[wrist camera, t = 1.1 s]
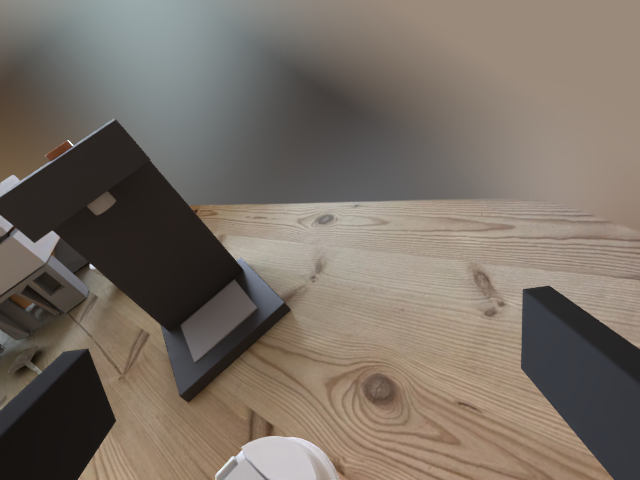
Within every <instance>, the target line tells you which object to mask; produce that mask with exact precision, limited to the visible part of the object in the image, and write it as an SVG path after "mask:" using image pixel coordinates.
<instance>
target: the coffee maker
mask: <svg viewBox="0 0 640 480" xmlns="http://www.w3.org/2000/svg"><path fill="white" fill-rule="evenodd" d="M45 157H46V158H47V159H48V160H49V161H50V162H48V163H47V164H45V165H44V166H42V167H41V168H39V169H38V170H36V171H35V172H33V173H32V174H31V175H29V176H27V177H26V178H24V179H23V180H21V181H20V182H18V183H17V184H15V185H14V186H13V187H11V188H10V189H9V190H7V191H6V192H5V193H4V194H2V195H1V196H0V215H1V216H2V217H3V218H4V219H6V220H7V221H8V222H9V223H10V224H12V225H13V226H14V227H15V228H17V229H18V230H19V231H20V232H21V233H23V234H24V235H25V236H26V237H27V238H29V239H30V240H31V241H32V242H34V243H36V242H37V241H38V240H40V239H41V238H42V237H44V236H45V235H47V234H48V233H49V232H51V231H53V232H55V233H56V234H57V235H58V236H59V237H60V238H61V239H63V240H64V241H65V242H66V243H67V244H68V245H70V246H71V247H72V248H73V249H74V250H75V251H76V252H78V253H79V254H80V255H81V256H82V257H83V258H84V259H86V260H87V261H88V262H89V263H90V264H91V265H93V266H94V267H95V268H96V269H97V270H98V271H99V272H101V273H102V274H103V275H104V276H105V277H106V278H108V279H109V280H110V281H111V282H112V283H113V284H114V285H116V286H117V287H118V288H119V289H120V290H121V291H122V292H124V293H125V294H126V295H127V296H128V297H129V298H131V299H132V300H133V301H134V302H135V303H136V304H137V305H139V306H140V307H141V308H142V309H143V310H144V311H146V312H147V313H148V314H149V315H150V316H151V317H152V318H154V319H155V320H156V321H157V322H158V323H159V324H160V325H161V329H162V332H163V336H164V340H165V343H166V347H167V351H168V354H169V358H170V362H171V365H172V369H173V373H174V376H175V380H176V384H177V387H178V391H179V395H180V397H182V398H183V399H184V400H186V401H187V402H189V401H190V400H191V399H192V398H193V397H195V396H196V395H197V394H198V393H199V392H200V391H201V390H202V389H203V388H205V387H206V386H207V385H208V384H209V383H210V382H211V381H212V380H213V379H214V378H216V377H217V376H218V375H219V374H220V373H221V372H222V371H223V370H224V369H226V368H227V367H228V366H229V365H230V364H231V363H232V362H233V361H234V360H235V359H237V358H238V357H239V356H240V355H241V354H242V353H243V352H244V351H245V350H247V349H248V348H249V347H250V346H251V345H252V344H253V343H254V342H255V341H256V340H258V339H259V338H260V337H261V336H262V335H263V334H264V333H265V332H266V331H268V330H269V329H270V328H271V327H272V326H273V325H274V324H275V323H276V322H277V321H279V320H280V319H281V318H282V317H283V316H284V315H285V314H286V313H287V312H289V311H290V308H289V307H288V306H287V305H286V303H285V302H284V301H283V300H282V299H281V298H280V297H279V296H278V295H277V294H276V293H275V292H274V291H273V290H272V289H271V288H270V287H269V286H268V285H267V284H266V283H265V282H264V281H263V280H262V279H261V278H260V277H259V276H258V275H257V274H256V273H255V272H254V270H253V269H252V268H251V267H250V266H249V265H248V264H247V263H246V262H245V261H244V260H243V259H242V258H239V259H238V260H237V261H236V260H235V259H234V258H233V257H232V256H231V254H230V253H229V252H228V251H227V250H226V249H225V247H224V246H223V245H222V244H221V243H220V242H219V240H218V239H217V238H216V237H215V236H214V235H213V233H212V232H211V231H210V230H209V229H208V228H207V226H206V225H205V224H204V223H203V222H202V221H201V219H200V218H199V217H198V216H197V215H196V214H195V213H194V211H193V210H192V209H191V208H190V207H189V206H188V204H187V203H186V202H185V201H184V200H183V199H182V198H181V196H180V195H179V194H178V193H177V192H176V190H175V189H174V188H173V187H172V186H171V185H170V184H169V182H168V181H167V180H166V179H165V178H164V176H163V175H162V174H161V173H160V172H159V171H158V169H157V168H156V167H155V166H154V165H153V164H152V162H151V161H150V159H149V157H148V156H147V155H146V154H145V153H144V151H142V149H141V148H140V147H139V146H138V144H136V142H135V141H134V140H133V139H132V137H131V136H130V135H129V134H128V133H127V132H126V130H125V129H124V128H123V127H122V126H121V125H120V123H119V122H118V121H117V120H115V119H112V120H111V121H109V122H108V123H106V124H105V125H103V126H102V127H100V128H99V129H97V130H96V131H94V132H93V133H91V134H90V135H88V136H87V137H85V138H84V139H82V140H81V141H79V142H78V143H76V144H75V145H74V146H73V145H72V144H71V143H70V142H69V141H66V142H65V143H63V144H62V145H60V146H58V147H57V148H55V149H54V150H53V151H51V152H49V153H48V154H47V155H45Z"/></svg>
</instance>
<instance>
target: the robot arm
mask: <svg viewBox="0 0 640 480" xmlns="http://www.w3.org/2000/svg"><path fill="white" fill-rule="evenodd" d="M521 369H522V370H523V371H524V372H525V373H526V375H527V376H528V377H529V378H530V379H531V381H532V382H533V383H534V384H535V385H536V387H537V388H538V389H539V390H540V391H541V393H542V394H543V395H544V396H545V397H546V399H547V400H548V401H549V402H550V403H551V405H552V406H553V407H554V408H555V409H556V410H557V412H558V413H559V414H560V415H561V416H562V418H563V419H564V420H565V421H566V422H567V424H568V425H569V426H570V427H571V428H572V430H573V431H574V432H575V433H576V434H577V436H578V437H579V438H580V439H581V440H582V442H583V443H584V444H585V445H586V446H587V448H588V449H589V450H590V451H591V452H592V454H593V455H594V456H595V457H596V458H597V460H598V461H599V462H600V463H601V464H602V466H603V467H604V468H605V469H606V470H607V472H608V473H609V474H610V475H611V476H612V478H613V479H614V480H640V349H638V348H637V347H636V346H634V345H633V344H631V343H630V342H628V341H627V340H626V339H624V338H623V337H621V336H620V335H619V334H617V333H616V332H614V331H613V330H611V329H610V328H609V327H607V326H606V325H604V324H603V323H601V322H600V321H599V320H597V319H596V318H594V317H593V316H592V315H590V314H589V313H587V312H586V311H584V310H583V309H582V308H580V307H579V306H577V305H576V304H574V303H573V302H572V301H570V300H569V299H567V298H566V297H565V296H563V295H562V294H560V293H559V292H557V291H556V290H555V289H553V288H552V287H550V286H544V287H536V288H529V289H523V309H522V353H521ZM115 422H116V419H115V417H114V414H113V412H112V409H111V407H110V404H109V401H108V399H107V396H106V394H105V391H104V388H103V386H102V383H101V381H100V378H99V375H98V373H97V370H96V368H95V365H94V362H93V360H92V357H91V355H90V352H89V349H82V350H74V351H67V352H63V353H62V354H61V355H60V356H59V357H58V358H57V359H56V360H54V361H53V362H52V363H51V364H50V365H49V366H48V367H47V368H46V369H45V370H44V371H43V372H42V373H40V374H39V375H38V376H37V377H36V378H35V379H34V380H33V381H32V382H31V383H30V384H29V385H27V386H26V387H25V388H24V389H23V390H22V391H21V392H20V393H19V394H18V395H17V396H16V397H15V398H13V399H12V400H11V401H10V402H9V403H8V404H7V405H6V406H5V407H4V408H3V409H2V410H0V480H78V478H79V477H80V475H81V474H82V472H83V471H84V469H85V467H86V466H87V464H88V463H89V461H90V460H91V458H92V457H93V455H94V454H95V452H96V451H97V449H98V448H99V446H100V445H101V443H102V442H103V440H104V439H105V437H106V436H107V434H108V432H109V431H110V429H111V428H112V426H113V425H114V423H115Z"/></svg>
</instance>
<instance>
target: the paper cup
mask: <svg viewBox="0 0 640 480" xmlns="http://www.w3.org/2000/svg"><path fill="white" fill-rule="evenodd" d="M241 448H242V450H243V451H241V452H240V453H239V454H238V455H237V456H236V457H234V456H232V457H231V459H230V460H229V461H228V462H227V463H226V464H225V465H224V466H223V467H222V468H221V469H220V470H219V472H218V473H217V474H216V475H215V477H216V479H215V480H340V478H339V476H338V474H337V471H336V469H335V467H334V465H333V464H332V462H331V461H330V459H329V458H328V456H327V455H326V454H325V453H324V452H323V451H322V450H321V449H320V448H319V447H317V446H316V445H314V444H313V443H311V442H309V441H306V440H304V439H301V438H295V437H280V436H268V437H264V438H259V439H256V440H254V441H251V442H249V443H247V444H246V445H244V446H242V447H241Z"/></svg>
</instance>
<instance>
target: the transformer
mask: <svg viewBox="0 0 640 480" xmlns="http://www.w3.org/2000/svg"><path fill="white" fill-rule="evenodd" d="M18 182H20V180H19V179H18V178H17V177H15V176H14V175H12V176H10V177H9V178H7V179H6V180H4V181H3V182H1V183H0V196H1V195H2V194H4V193H5V192H6V191H7V190H9V189H10V188H11V187H13V186H14V185H15V184H17V183H18ZM87 263H88V261H87V260H86V259H84V258H83V257H82V256H81V255H80V254H79V253H78V252H76V251H75V250H74V249H73V248H72V247H71V246H70V245H68V244H67V243H66V242H65V241H64V240H63V239H61V238H60V237H59V236H58V235H57V234H56V233H55V232H53V231H51V232H49V233H48V234H47V235H45V236H44V237H42V238H41V239H40V240H38V241H37V242H36V243H34V242H32V241H31V240H30V239H29V238H27V237H26V236H25V235H24V234H23V233H21V232H20V231H19V230H18V229H17V228H15V227H14V226H13V225H12V224H10V223H9V222H8V221H7V220H6V219H4V218H3V217H2V216H1V215H0V330H2V331H3V332H5V333H7V334H8V335H10V336H11V337H13V338H14V339H16V340H20V339H22V338H23V337H28V336H29V335H30V333H31V332H32V331H33V330H34V329H36V328H37V327H38V326H39V325H40V320H39V319H37V318H36V317H35V316H33V315H32V314H30V313H29V312H28V311H26V310H25V308H27V307H28V306H30V305H31V304H32V303H34V304H36V305H38V306H40V307H42V308H44V309H46V310H47V311H49V312H50V313H51V314H55V315H58V314H59V313H60V312H59V311H60V310H61V311H63V312H64V313H67V312H68V311H69V310H71V309H72V308H73V307H75V306H76V305H77V304H79V303H80V302H81V301H83V300H84V299H86V298H87V296H88V295H87V294H88V290H89V287H88V286H86V285H85V284H84V283H83V282H82V281H81V280H80V279H79V278H77V277H76V276H75V275H74V274H73V273H74V272H76V271H77V270H78V269H80V268H81V267H83V266H84V265H85V264H87ZM4 350H5V347H3V346H2V345H1V344H0V354H1V353H3V352H4Z"/></svg>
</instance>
